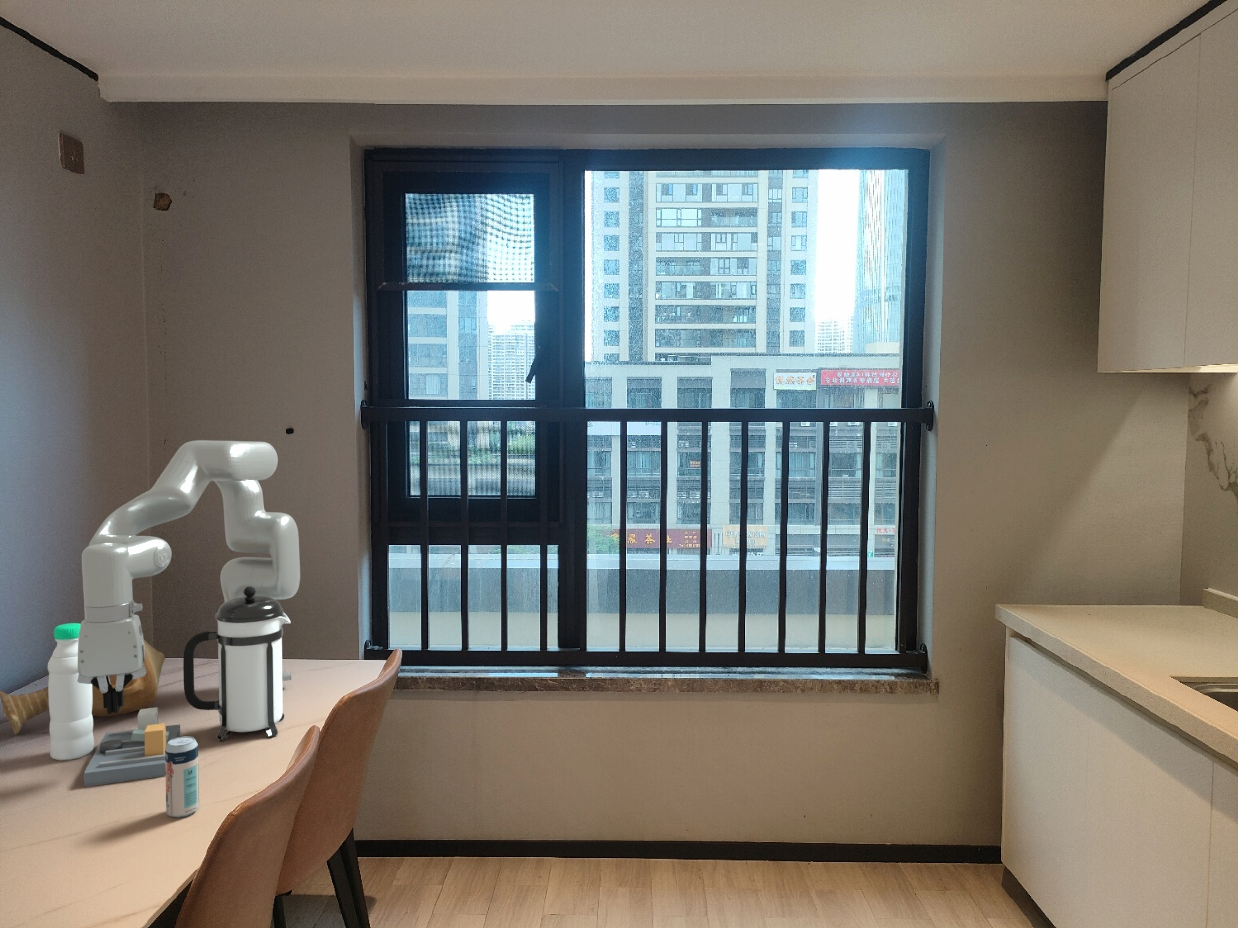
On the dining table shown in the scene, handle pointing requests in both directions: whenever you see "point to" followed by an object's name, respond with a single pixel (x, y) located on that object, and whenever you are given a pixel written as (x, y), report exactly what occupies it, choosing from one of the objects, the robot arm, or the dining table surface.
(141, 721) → the ivory fader
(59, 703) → the water bottle
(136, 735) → the block
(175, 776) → the beer can
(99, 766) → the panel
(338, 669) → the dining table surface
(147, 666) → the jug
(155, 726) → the orange fader
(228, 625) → the coffee press
